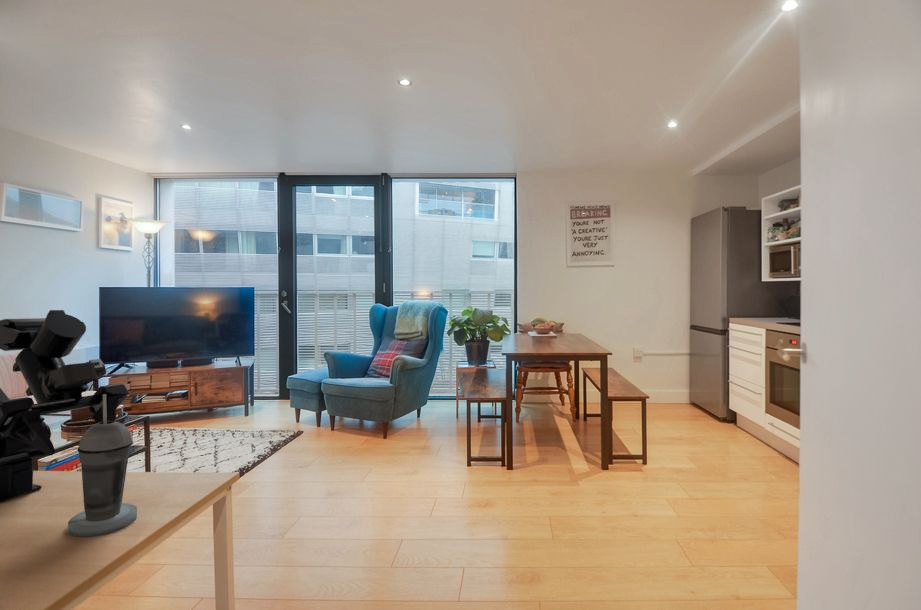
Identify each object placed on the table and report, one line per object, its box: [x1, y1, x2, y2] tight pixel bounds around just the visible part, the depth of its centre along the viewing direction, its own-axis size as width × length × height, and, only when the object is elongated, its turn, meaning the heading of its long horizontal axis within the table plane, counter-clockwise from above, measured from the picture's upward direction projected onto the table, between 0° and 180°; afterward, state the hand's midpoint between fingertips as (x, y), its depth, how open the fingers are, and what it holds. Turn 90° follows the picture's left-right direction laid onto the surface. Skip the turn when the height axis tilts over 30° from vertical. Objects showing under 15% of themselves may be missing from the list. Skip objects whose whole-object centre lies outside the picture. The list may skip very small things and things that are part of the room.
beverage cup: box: [77, 394, 134, 522], centre depth 75 cm, size 7×7×20 cm
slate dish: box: [67, 502, 138, 538], centre depth 75 cm, size 9×9×1 cm
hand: (84, 445), depth 77 cm, fingers open, 9 cm apart
